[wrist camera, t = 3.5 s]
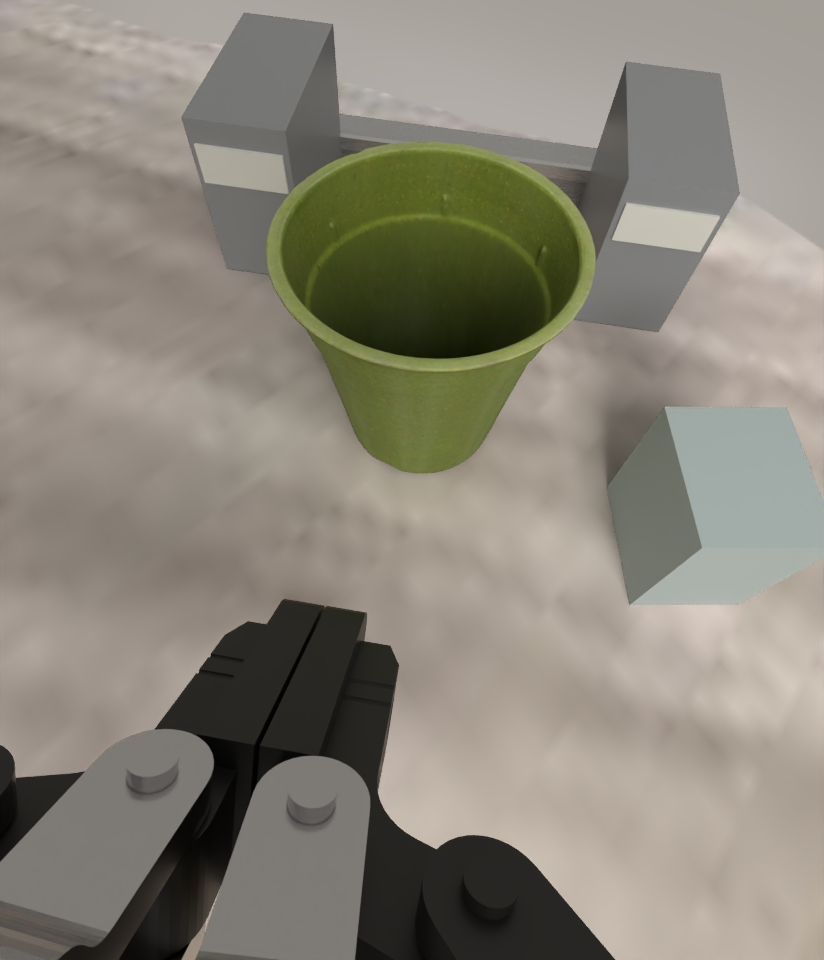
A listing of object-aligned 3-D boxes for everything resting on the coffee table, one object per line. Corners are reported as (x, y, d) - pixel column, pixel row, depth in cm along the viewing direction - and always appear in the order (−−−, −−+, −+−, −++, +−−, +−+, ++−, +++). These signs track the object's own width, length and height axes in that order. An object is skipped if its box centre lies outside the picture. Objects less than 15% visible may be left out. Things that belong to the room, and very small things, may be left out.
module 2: (573, 321, 35) (628, 180, 27) (577, 209, 39) (625, 61, 32) (658, 333, 34) (740, 195, 26) (652, 219, 39) (720, 73, 31)
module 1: (226, 270, 36) (180, 119, 28) (271, 166, 40) (243, 12, 32) (307, 281, 35) (284, 133, 27) (343, 176, 40) (332, 24, 32)
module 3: (629, 605, 27) (702, 547, 20) (606, 487, 30) (664, 406, 23) (737, 604, 27) (841, 547, 21) (703, 488, 30) (786, 407, 24)
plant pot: (424, 300, 35) (440, 104, 25) (575, 427, 31) (663, 255, 21) (258, 405, 31) (198, 221, 21) (407, 566, 27) (419, 434, 17)
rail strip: (270, 170, 40) (262, 126, 37) (279, 149, 41) (272, 104, 39) (652, 223, 39) (672, 182, 36) (651, 200, 40) (670, 158, 38)
